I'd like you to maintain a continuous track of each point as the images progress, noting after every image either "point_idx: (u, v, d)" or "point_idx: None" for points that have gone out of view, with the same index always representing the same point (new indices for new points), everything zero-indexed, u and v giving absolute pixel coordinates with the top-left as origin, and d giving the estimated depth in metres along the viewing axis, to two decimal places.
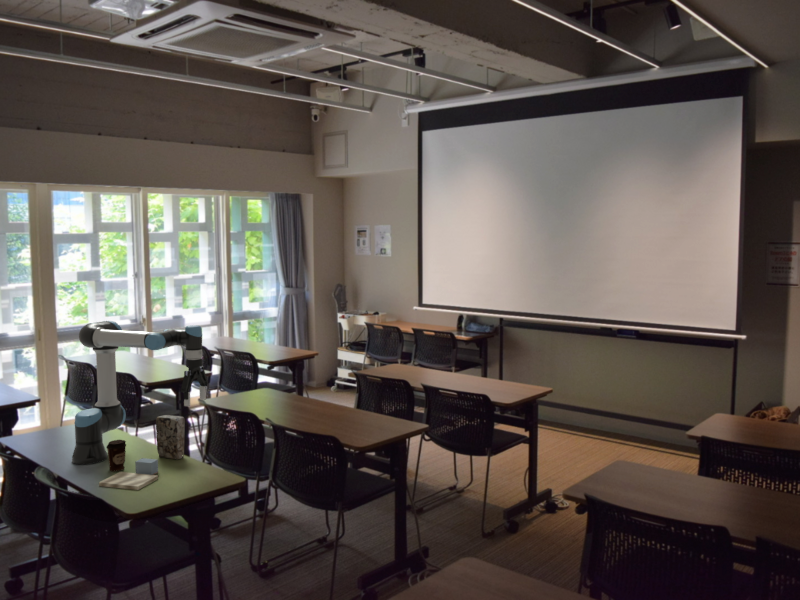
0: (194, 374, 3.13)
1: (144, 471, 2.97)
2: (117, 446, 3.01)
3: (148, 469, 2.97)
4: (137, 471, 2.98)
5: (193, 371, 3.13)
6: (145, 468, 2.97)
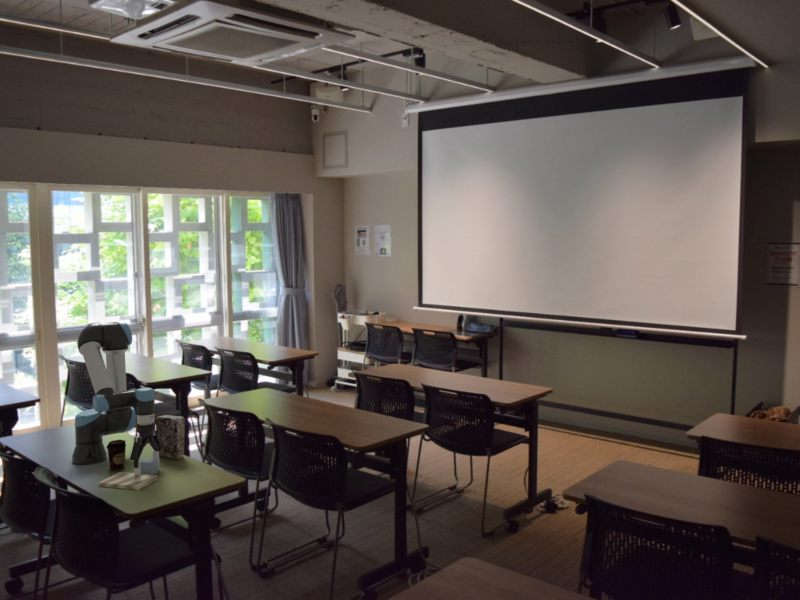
0: (145, 440, 2.96)
1: (144, 471, 2.97)
2: (117, 446, 3.01)
3: (148, 469, 2.97)
4: None
5: (144, 437, 2.96)
6: (145, 468, 2.97)
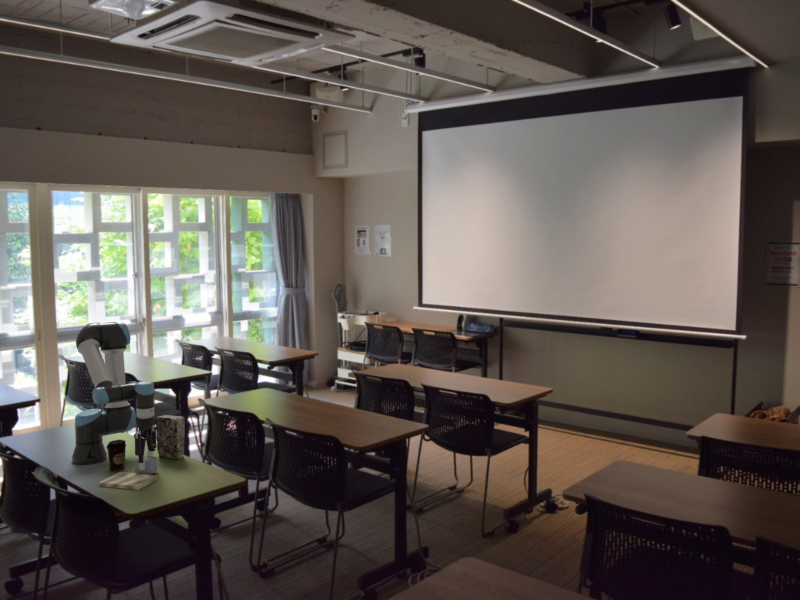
0: (145, 434, 2.96)
1: None
2: (117, 446, 3.01)
3: (147, 467, 2.97)
4: (136, 469, 2.98)
5: (143, 430, 2.95)
6: None
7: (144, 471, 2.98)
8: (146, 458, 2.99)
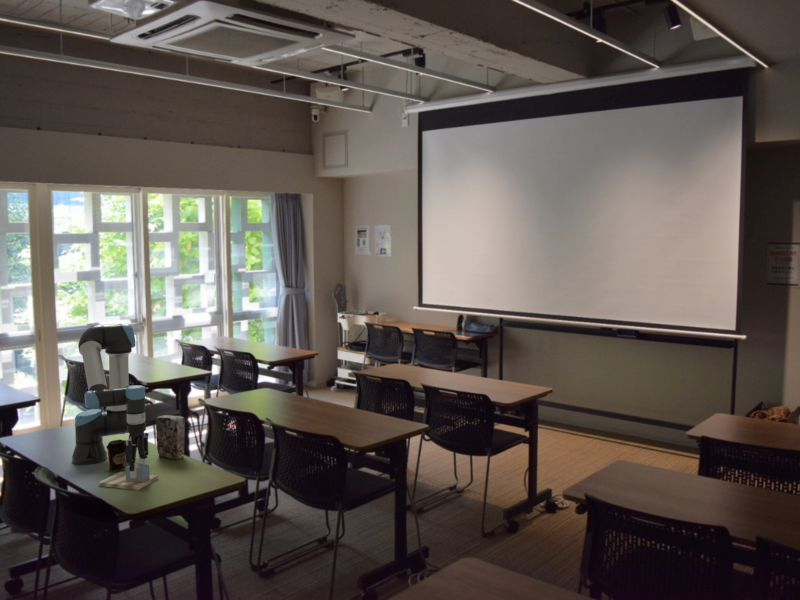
0: (136, 441, 2.83)
1: None
2: (117, 446, 3.01)
3: (139, 475, 2.84)
4: (127, 477, 2.85)
5: (134, 437, 2.83)
6: None
7: (135, 479, 2.85)
8: (137, 466, 2.86)
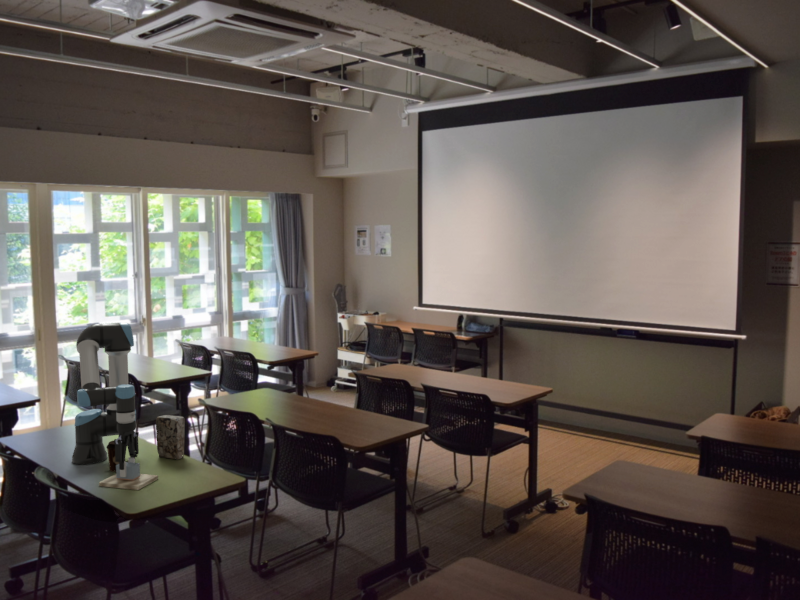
0: (126, 440, 2.84)
1: None
2: None
3: (129, 473, 2.85)
4: (118, 475, 2.86)
5: (124, 435, 2.84)
6: None
7: (126, 478, 2.85)
8: (128, 464, 2.87)
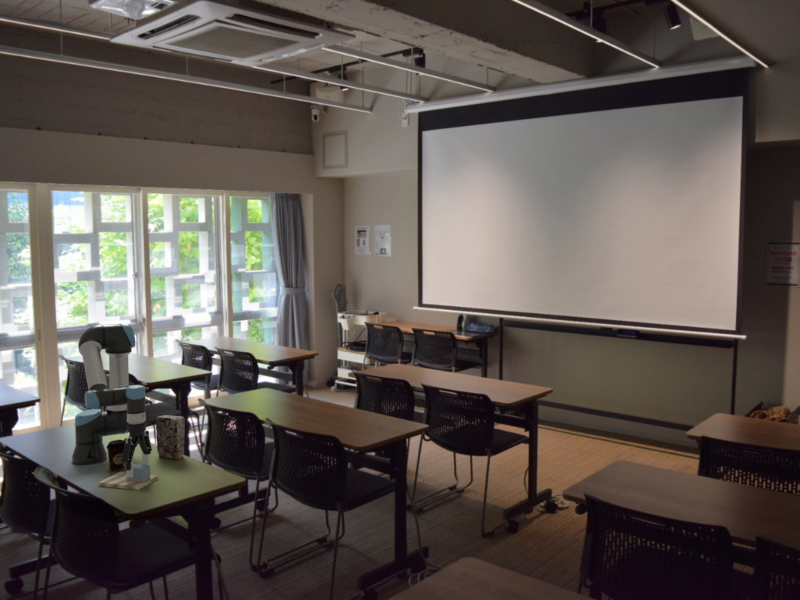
0: (136, 440, 2.83)
1: (136, 477, 2.85)
2: (117, 446, 3.01)
3: (139, 475, 2.84)
4: (128, 477, 2.86)
5: (135, 436, 2.83)
6: (136, 474, 2.84)
7: (136, 480, 2.85)
8: (138, 466, 2.86)
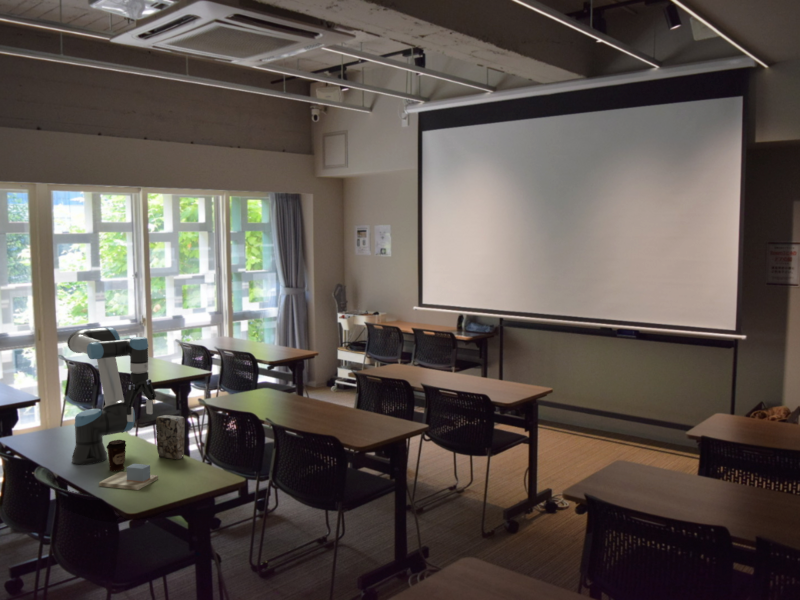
0: (138, 388, 3.00)
1: (136, 477, 2.85)
2: (117, 446, 3.01)
3: (139, 475, 2.84)
4: (128, 477, 2.86)
5: (137, 385, 3.00)
6: (136, 474, 2.84)
7: (136, 480, 2.85)
8: (138, 466, 2.86)
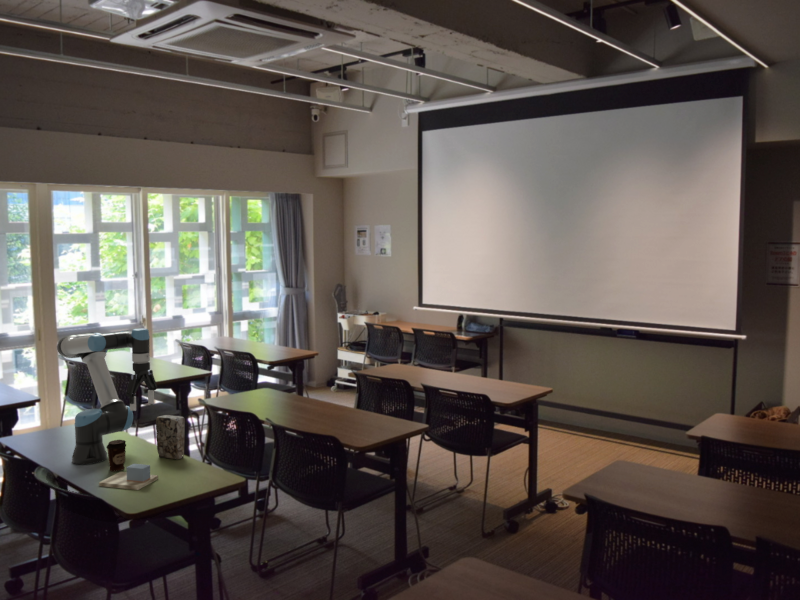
0: (141, 378, 3.08)
1: (136, 477, 2.85)
2: (117, 446, 3.01)
3: (139, 475, 2.84)
4: (128, 477, 2.86)
5: (139, 375, 3.08)
6: (136, 474, 2.84)
7: (136, 480, 2.85)
8: (138, 466, 2.86)
